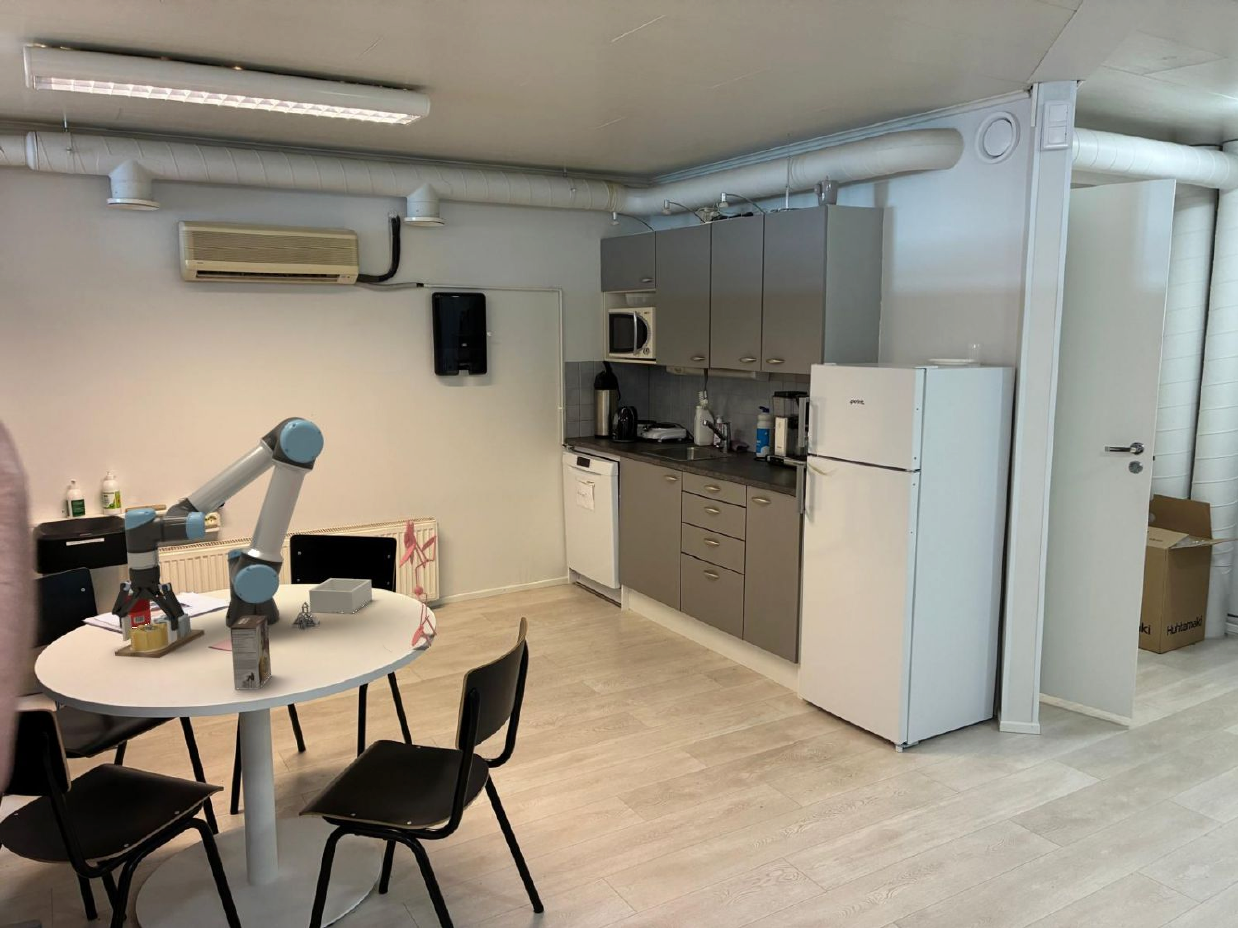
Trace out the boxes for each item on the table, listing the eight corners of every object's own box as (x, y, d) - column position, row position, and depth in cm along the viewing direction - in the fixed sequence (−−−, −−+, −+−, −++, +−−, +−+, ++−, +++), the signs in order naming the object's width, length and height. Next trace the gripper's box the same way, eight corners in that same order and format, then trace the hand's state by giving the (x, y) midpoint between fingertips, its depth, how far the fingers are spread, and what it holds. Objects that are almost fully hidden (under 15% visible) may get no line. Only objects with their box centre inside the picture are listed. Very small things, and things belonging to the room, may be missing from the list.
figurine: (444, 625, 260) (440, 511, 256) (429, 656, 235) (424, 529, 230) (392, 626, 260) (387, 511, 255) (371, 657, 234) (366, 530, 229)
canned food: (157, 620, 266) (154, 585, 264) (140, 629, 258) (137, 593, 257) (133, 620, 267) (130, 585, 265) (115, 628, 259) (112, 592, 257)
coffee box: (246, 676, 222) (242, 615, 219) (272, 675, 222) (268, 614, 220) (233, 690, 213) (229, 626, 210) (260, 689, 213) (256, 626, 211)
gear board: (204, 633, 254) (204, 629, 254) (158, 658, 234) (158, 653, 234) (163, 631, 256) (163, 627, 256) (115, 656, 236) (114, 651, 236)
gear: (197, 629, 254) (195, 609, 253) (177, 640, 245) (175, 619, 244) (169, 628, 255) (167, 608, 254) (148, 638, 246) (146, 617, 245)
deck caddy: (372, 600, 286) (371, 579, 285) (352, 613, 272) (351, 592, 271) (331, 598, 288) (330, 578, 287) (310, 611, 274) (309, 590, 273)
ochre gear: (175, 640, 244) (174, 623, 244) (154, 651, 236) (152, 634, 235) (146, 639, 246) (145, 622, 245) (124, 650, 237) (122, 632, 236)
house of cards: (279, 633, 255) (277, 608, 254) (292, 624, 264) (290, 599, 262) (309, 634, 254) (307, 608, 253) (321, 624, 263) (319, 600, 262)
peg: (157, 644, 242) (155, 622, 241) (151, 647, 239) (150, 625, 238) (149, 644, 242) (147, 622, 241) (143, 647, 240) (142, 625, 239)
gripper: (194, 563, 239) (200, 637, 242) (112, 560, 243) (118, 633, 246) (177, 570, 232) (183, 647, 235) (92, 567, 236) (99, 642, 238)
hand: (150, 640), depth 240 cm, fingers open, 13 cm apart
